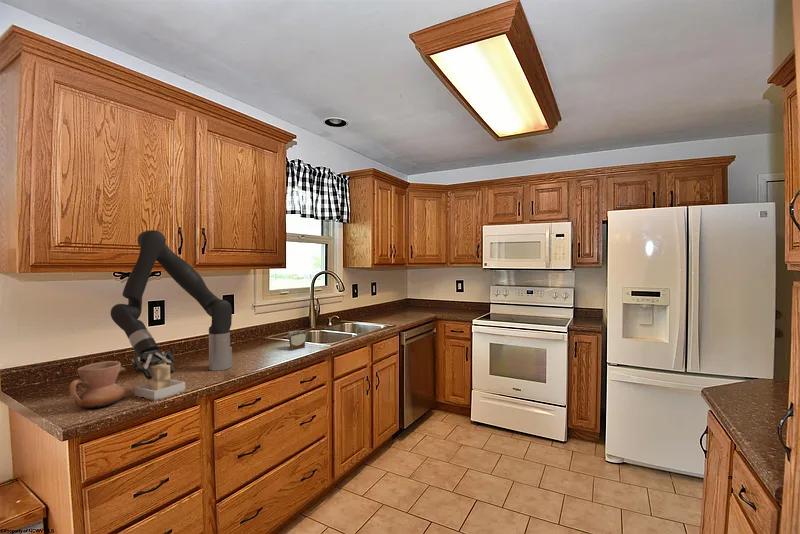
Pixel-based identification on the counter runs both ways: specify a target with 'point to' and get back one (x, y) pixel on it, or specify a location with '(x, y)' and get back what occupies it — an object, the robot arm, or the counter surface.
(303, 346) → the food container
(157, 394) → the tray
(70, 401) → the counter surface
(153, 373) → the block
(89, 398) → the ceramic jug
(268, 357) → the counter surface
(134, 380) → the counter surface
